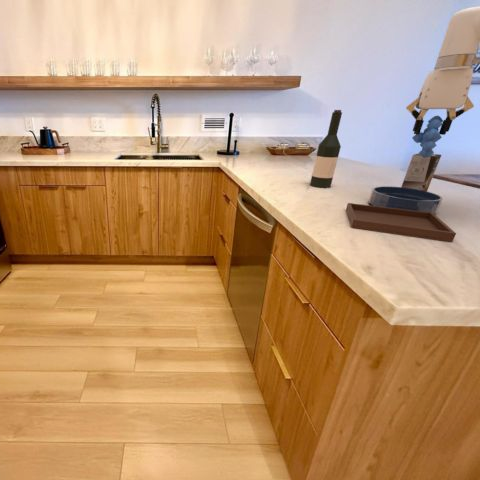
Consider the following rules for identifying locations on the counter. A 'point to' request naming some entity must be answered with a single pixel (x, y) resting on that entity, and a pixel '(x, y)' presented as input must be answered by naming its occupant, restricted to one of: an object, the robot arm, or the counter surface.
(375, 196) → the bowl
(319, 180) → the wine bottle
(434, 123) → the grapes
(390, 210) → the tray
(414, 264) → the counter surface
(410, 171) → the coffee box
